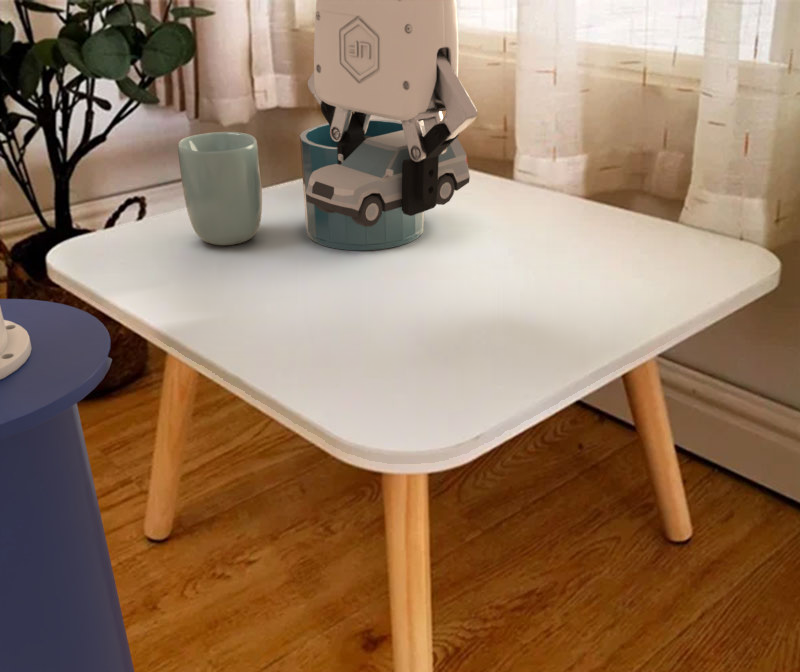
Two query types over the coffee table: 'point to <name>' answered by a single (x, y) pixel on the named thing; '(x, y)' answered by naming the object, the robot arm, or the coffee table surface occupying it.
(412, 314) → the coffee table surface
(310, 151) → the teal plant pot
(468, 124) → the robot arm
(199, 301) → the coffee table surface
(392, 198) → the toy car
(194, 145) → the cup
